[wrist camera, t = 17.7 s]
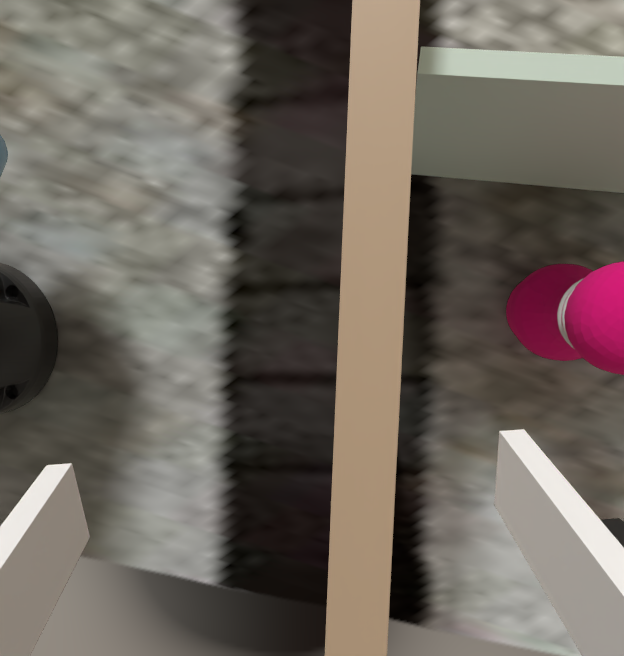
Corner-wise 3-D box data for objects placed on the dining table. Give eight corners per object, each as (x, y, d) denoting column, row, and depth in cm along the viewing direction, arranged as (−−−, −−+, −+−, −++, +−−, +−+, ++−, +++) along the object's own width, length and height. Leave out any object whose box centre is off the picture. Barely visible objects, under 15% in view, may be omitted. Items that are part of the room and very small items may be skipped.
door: (667, 196, 41) (918, 102, 21) (409, 174, 44) (417, 73, 24) (673, 163, 40) (932, 35, 21) (414, 142, 44) (425, 15, 24)
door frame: (363, 485, 47) (323, 689, 22) (381, 99, 44) (358, -139, 20) (392, 488, 46) (384, 699, 22) (412, 99, 44) (427, -145, 20)
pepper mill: (541, 249, 43) (660, 207, 23) (611, 305, 42) (796, 312, 23) (481, 316, 44) (546, 330, 24) (549, 371, 43) (673, 433, 24)
